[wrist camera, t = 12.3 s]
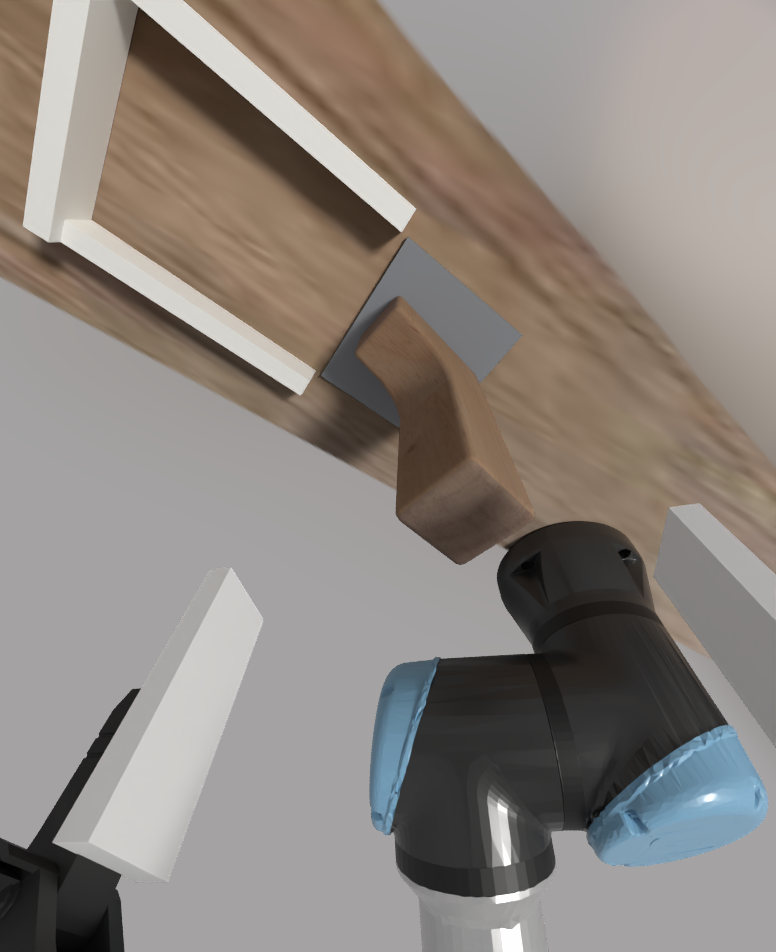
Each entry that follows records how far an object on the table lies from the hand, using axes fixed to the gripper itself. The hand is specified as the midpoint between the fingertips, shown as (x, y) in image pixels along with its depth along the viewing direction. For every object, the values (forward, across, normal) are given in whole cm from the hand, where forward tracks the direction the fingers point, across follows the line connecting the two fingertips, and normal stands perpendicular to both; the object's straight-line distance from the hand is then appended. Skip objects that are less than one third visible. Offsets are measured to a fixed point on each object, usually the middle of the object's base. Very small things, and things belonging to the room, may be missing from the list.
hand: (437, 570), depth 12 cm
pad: (+23, 0, 0) cm, 23 cm away
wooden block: (+22, 0, 0) cm, 23 cm away
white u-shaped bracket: (+23, +11, -12) cm, 28 cm away
